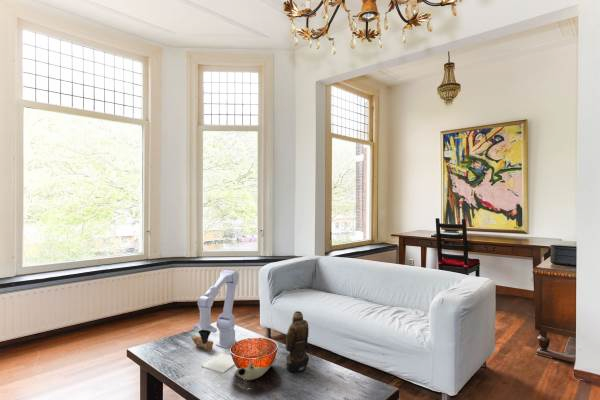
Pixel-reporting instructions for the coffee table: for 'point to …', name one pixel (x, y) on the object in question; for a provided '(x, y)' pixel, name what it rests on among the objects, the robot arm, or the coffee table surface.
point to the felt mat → (220, 363)
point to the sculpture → (297, 344)
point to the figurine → (199, 343)
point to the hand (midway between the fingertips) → (204, 343)
